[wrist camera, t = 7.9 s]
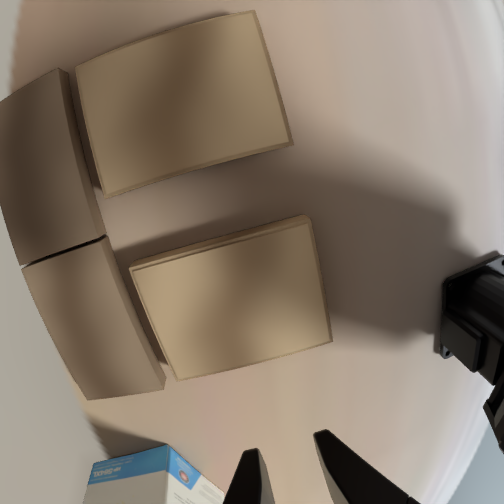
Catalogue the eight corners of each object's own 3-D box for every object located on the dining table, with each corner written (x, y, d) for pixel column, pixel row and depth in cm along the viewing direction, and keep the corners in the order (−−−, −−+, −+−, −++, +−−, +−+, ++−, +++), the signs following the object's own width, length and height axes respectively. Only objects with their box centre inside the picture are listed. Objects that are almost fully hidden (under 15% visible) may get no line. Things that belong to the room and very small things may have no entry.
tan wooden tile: (67, 72, 13) (58, 67, 12) (166, 377, 18) (163, 389, 17) (-6, 115, 13) (-18, 113, 12) (92, 389, 18) (87, 400, 17)
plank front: (253, 19, 13) (255, 8, 12) (289, 146, 15) (294, 145, 14) (84, 72, 13) (73, 66, 12) (113, 196, 15) (104, 199, 14)
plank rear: (304, 214, 16) (311, 218, 15) (326, 331, 18) (333, 342, 17) (134, 260, 16) (128, 268, 15) (178, 369, 18) (176, 382, 17)
